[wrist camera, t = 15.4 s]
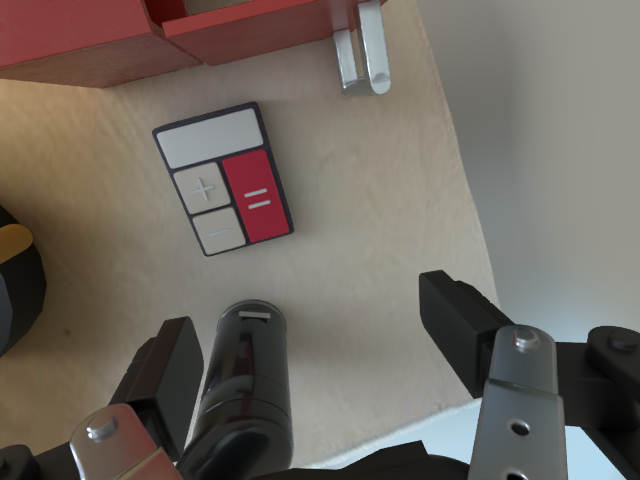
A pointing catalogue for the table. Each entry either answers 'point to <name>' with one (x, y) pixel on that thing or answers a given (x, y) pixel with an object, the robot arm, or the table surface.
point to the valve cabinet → (89, 41)
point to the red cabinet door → (292, 35)
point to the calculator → (226, 178)
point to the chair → (18, 281)
